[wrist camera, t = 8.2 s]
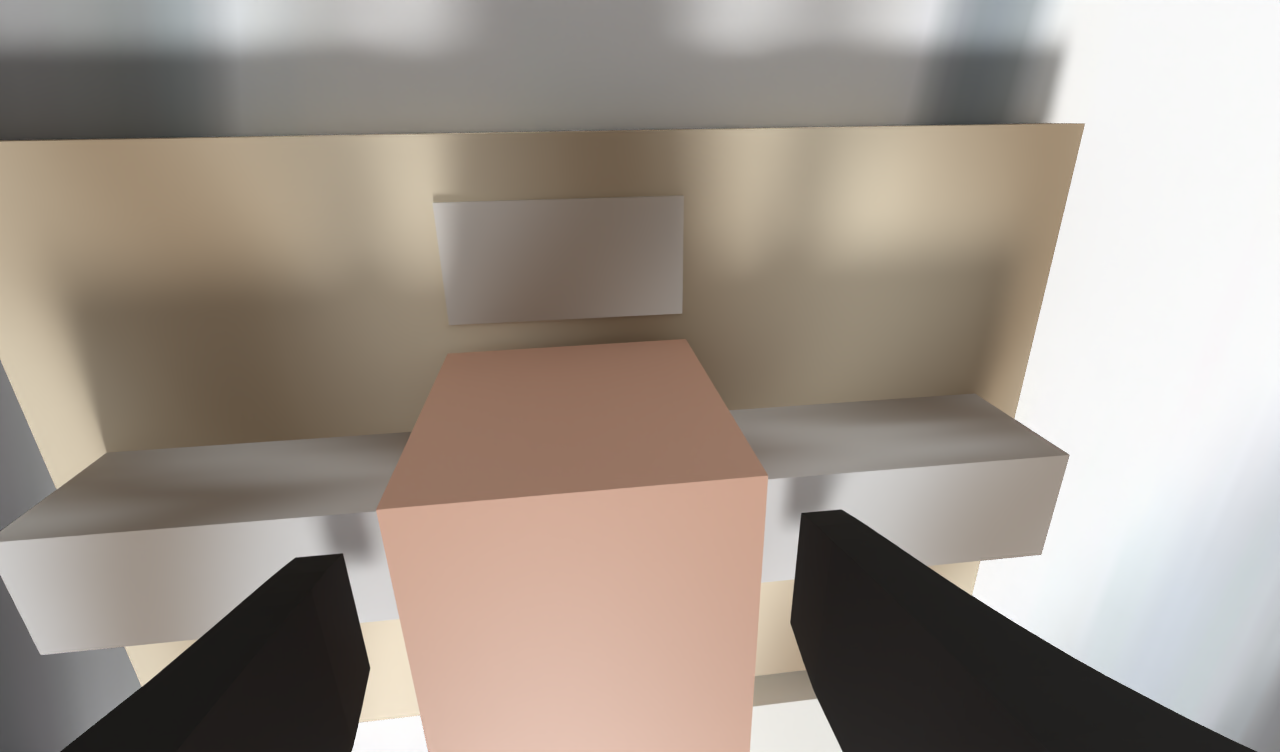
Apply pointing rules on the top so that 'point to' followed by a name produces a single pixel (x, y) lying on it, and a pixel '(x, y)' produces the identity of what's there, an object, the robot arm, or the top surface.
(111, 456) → the beige flat block
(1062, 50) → the top surface
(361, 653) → the robot arm
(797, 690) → the white square plate
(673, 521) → the peach rectangular block
